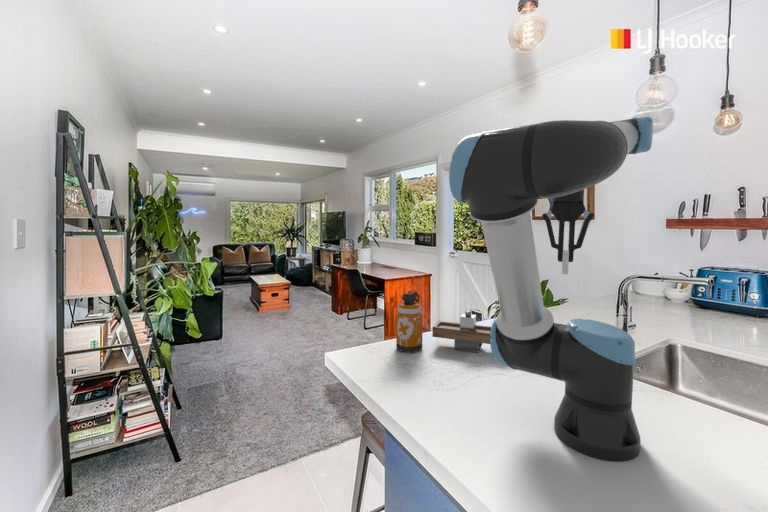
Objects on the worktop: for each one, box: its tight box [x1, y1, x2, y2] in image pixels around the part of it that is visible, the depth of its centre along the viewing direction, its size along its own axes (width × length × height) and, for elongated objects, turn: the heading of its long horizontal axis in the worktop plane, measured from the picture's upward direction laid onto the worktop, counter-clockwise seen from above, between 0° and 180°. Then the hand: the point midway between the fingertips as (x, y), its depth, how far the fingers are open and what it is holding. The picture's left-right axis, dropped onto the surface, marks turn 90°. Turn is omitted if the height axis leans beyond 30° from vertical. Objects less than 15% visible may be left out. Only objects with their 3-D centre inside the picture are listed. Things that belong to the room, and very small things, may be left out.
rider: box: [459, 310, 477, 331], centre depth 124 cm, size 4×4×6 cm
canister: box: [395, 290, 423, 353], centre depth 125 cm, size 9×11×20 cm
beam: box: [431, 320, 492, 354], centre depth 124 cm, size 8×23×8 cm, turn 66°
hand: (564, 273), depth 100 cm, fingers closed
